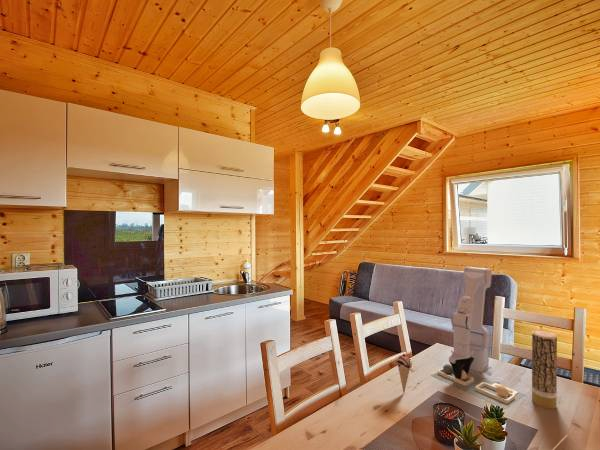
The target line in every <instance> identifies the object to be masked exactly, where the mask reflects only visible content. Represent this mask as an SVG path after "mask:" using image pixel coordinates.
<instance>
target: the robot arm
mask: <svg viewBox="0 0 600 450" xmlns="http://www.w3.org/2000/svg"><path fill="white" fill-rule="evenodd" d="M492 276H493V275H492V270H491V269H490V268H489V267H488V268H486V267H475V266H468V265H467V266H465V268H463V278H464V281H465V286H464V293H463V296H461V297H459V301H458V304H457V307H456V309H455V312H453V313H452V315H451V319H450V321H451V322H450V323H451V326H452V329H451V330H452V331H453V349H452V350H450V353H451V355H450V356H448V362H449V365H451V366H452V368H453V371H454V375H455V377H456V378H458V379H461V376H462V370H464V371H465V372H466V374H467V375H468V373H469V372H470V370H473V371H476V372H478V373H482V372H483V371H486V370H487V369H490V368H491V365H490V363H489V361H490V360H489V359H490V358H489V353H490V352H489V348H490V342H491V341H490V332H489V330H488V329H487V328H486V327H485V326H484V325H483V324H484V323H483V322H484V314H485V313H484V312H485V301H486V300H485V299H486V291H487V289H488V288H491V285H492Z"/></svg>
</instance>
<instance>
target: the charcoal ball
mask: <svg viewBox="0 0 600 450" xmlns="http://www.w3.org/2000/svg"><path fill="white" fill-rule="evenodd" d="M442 368H443V371H444V372H445V373H446V374H448V375H451V374H453V372H454V371H453V368H452V366H451V364H450V363H449V364H444V365H443V367H442Z"/></svg>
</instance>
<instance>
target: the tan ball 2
mask: <svg viewBox="0 0 600 450" xmlns="http://www.w3.org/2000/svg"><path fill="white" fill-rule="evenodd" d="M501 385H502V384H500V386H497V387H496V393H497V395H498V396H499V397H502V398H506V397H507V396H508V395H509V392H508V390H507V388H506V387H507V386H505V387H504V385H502V386H501Z"/></svg>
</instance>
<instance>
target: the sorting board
mask: <svg viewBox="0 0 600 450" xmlns="http://www.w3.org/2000/svg"><path fill="white" fill-rule="evenodd" d="M430 376H431V377H433V378H435V379H437V380H440V381H441V382H444V383H447V384H448V385H451V386H453V387H455V388H457V389H460V390H462V391H464V392H467V393H469V394H471V395H473V396H475V397H477V398H479V399H482V400H484V401H486V402H489V403H491V404H493V405H495V406H497V405H498V406H497V407H499V406H501V407H500V408H502V409H504V410H506V409H507V408H509V407H511V406H512V405H513V404H515V403H516V402H517V401H519V400H521V398H523V397H524V396H525V395H526V394H525V393H522V392H520V391H517V390H515V389H512V388H510V387H507V386H504V385H502V384H499V383H497V382H495V381H492V380H489V379H487V378H484V377H482V376H479V375H477V374H474V373H473V372H472V373H471V372H470V371H469V373H468V375H467V378H466V379H465V380H459V379H458V378H456V377H455V375H454V372H453V374H451V375H448V374H446V373H445V372H444V371H443V367H442V368H439V369H437V372H435V373H433V374H431V375H430ZM500 385H501V386H504V387H506V388H507V390H508V392H509V395H508V396H507V397H506V398H502V397H499V396H498V395H497V393H496V387H497V386H500Z"/></svg>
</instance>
